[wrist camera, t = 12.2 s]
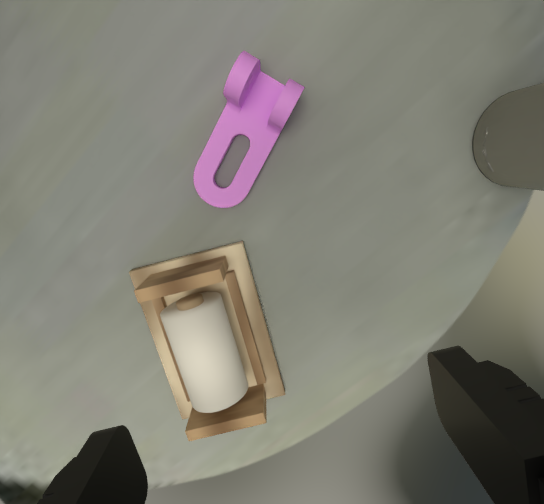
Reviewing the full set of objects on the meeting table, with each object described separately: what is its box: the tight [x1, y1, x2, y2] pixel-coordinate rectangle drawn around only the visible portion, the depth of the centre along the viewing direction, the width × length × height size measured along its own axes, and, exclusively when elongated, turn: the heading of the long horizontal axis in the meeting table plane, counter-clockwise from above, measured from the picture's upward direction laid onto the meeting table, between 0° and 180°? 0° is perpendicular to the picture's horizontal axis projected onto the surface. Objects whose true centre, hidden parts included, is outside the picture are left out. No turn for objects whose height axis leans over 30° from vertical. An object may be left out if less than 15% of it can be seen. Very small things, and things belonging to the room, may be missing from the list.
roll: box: [160, 292, 248, 413], centre depth 38 cm, size 11×6×6 cm, turn 15°
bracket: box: [194, 51, 305, 208], centre depth 34 cm, size 13×6×7 cm, turn 151°
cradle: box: [129, 241, 285, 441], centre depth 39 cm, size 12×18×6 cm, turn 14°
